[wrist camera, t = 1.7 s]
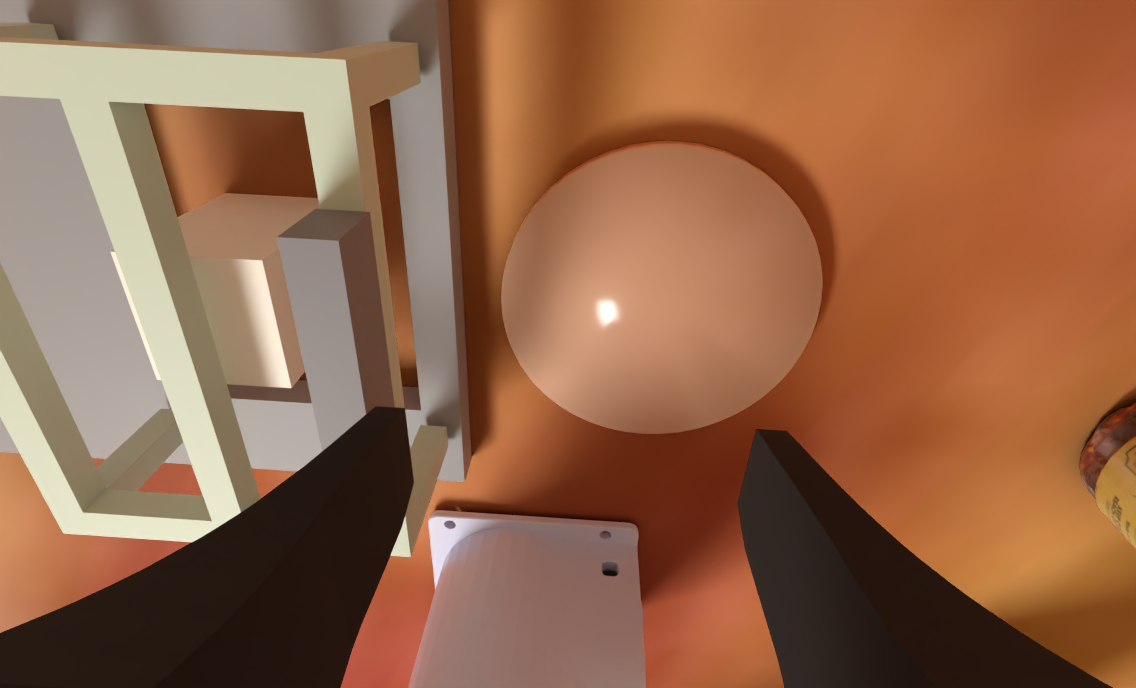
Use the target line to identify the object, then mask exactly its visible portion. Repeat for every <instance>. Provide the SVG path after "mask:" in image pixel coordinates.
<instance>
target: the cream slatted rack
mask: <svg viewBox="0 0 1136 688" xmlns="http://www.w3.org/2000/svg"><path fill="white" fill-rule="evenodd" d="M420 83H421V79H420V66H419V53H418V43H411V42H391V41H378V42H373V43H367V44H362V45H357V46H351V47H346V48H340V49H335V50H329V51H324V52H319V53H304V52H285V51H265V50H246V49H226V48H207V47H188V46H168V45H149V44H129V43H110V42H90V41H71V40H58V37H57V34H56V31H55V28H54V26H53V24H38V23H18V22H15V23H0V96H14V97H33V98H51V99H60V101H61V104H62V106H63V109H64V112H65V115H66V118H67V120H68V123H69V126H70V129H71V131H72V134H73V137H74V140H75V142H76V145H77V148H78V151H79V154H80V156H81V159H82V162H83V165H84V167H85V170H86V173H87V176H88V179H89V181H90V184H91V187H92V190H93V192H94V195H95V198H96V201H97V203H98V206H99V209H100V212H101V215H102V217H103V220H104V223H105V226H106V228H107V231H108V234H109V237H110V240H111V242H112V245H113V248H114V251H115V253H116V256H117V259H118V262H119V264H120V267H121V270H122V273H123V276H124V278H125V281H126V284H127V287H128V289H129V292H130V295H131V298H132V301H133V303H134V306H135V309H136V312H137V314H138V317H139V320H140V323H141V326H142V328H143V331H144V334H145V337H146V339H147V342H148V345H149V348H150V350H151V353H152V356H153V359H154V362H155V364H156V367H157V370H158V373H159V375H160V378H161V381H162V384H163V387H164V389H165V392H166V395H167V398H168V400H169V403H170V406H171V409H160V410H158V411H157V412H156V413H155V414H154V415H153V416H152V417H151V418H150V419H149V420H148V421H147V422H146V423H144V424H143V425H142V426H141V427H140V428H139V429H138V430H137V431H136V432H135V433H134V434H133V435H132V436H130V437H129V438H128V439H127V440H126V441H125V442H124V443H123V444H122V445H121V446H120V447H119V448H118V449H116V450H115V451H114V452H113V453H112V454H111V455H110V456H109V457H108V458H107V459H106V460H105V461H104V462H102V463H101V464H100V465H99V466H98V467H97V468H96V466H95V464H94V462H93V459H92V457H91V455H90V453H89V451H88V449H87V447H86V444H85V442H84V440H83V438H82V436H81V434H80V432H79V429H78V427H77V425H76V423H75V421H74V419H73V417H72V414H71V412H70V410H69V408H68V406H67V404H66V402H65V400H64V397H63V395H62V393H61V391H60V389H59V387H58V385H57V382H56V380H55V378H54V376H53V374H52V372H51V370H50V367H49V365H48V363H47V361H46V359H45V357H44V355H43V352H42V350H41V348H40V346H39V344H38V342H37V340H36V337H35V335H34V333H33V331H32V329H31V327H30V325H29V323H28V320H27V318H26V316H25V314H24V312H23V310H22V308H21V305H20V303H19V301H18V299H17V297H16V295H15V293H14V290H13V288H12V286H11V284H10V282H9V280H8V278H7V275H6V273H5V271H4V269H3V267H2V265H1V263H0V418H1V420H2V421H3V423H4V425H5V427H6V429H7V431H8V433H9V434H10V436H11V438H12V440H13V442H14V444H15V445H16V447H17V449H18V451H19V453H20V455H21V456H22V458H23V460H24V462H25V464H26V466H27V467H28V469H29V471H30V473H31V475H32V477H33V478H34V480H35V482H36V484H37V486H38V488H39V489H40V491H41V493H42V495H43V497H44V499H45V501H46V502H47V504H48V506H49V508H50V510H51V512H52V513H53V515H54V517H55V519H56V521H57V523H58V524H59V526H60V528H61V530H62V532H63V533H65V534H79V535H94V536H109V537H124V538H138V539H153V540H168V541H183V542H194V541H196V540H197V539H199V538H201V537H203V536H204V535H206V534H208V533H209V532H211V531H212V530H214V529H216V528H217V527H219V526H220V525H222V524H224V523H225V522H227V521H228V520H230V519H231V518H233V517H235V516H236V515H238V514H239V513H241V512H242V511H244V510H245V509H247V508H248V507H250V506H251V505H253V504H254V503H256V502H257V501H258V500H260V495H259V492H258V488H257V485H256V482H255V478H254V475H253V472H252V468H251V465H250V461H249V458H248V455H247V451H246V448H245V444H244V441H243V438H242V434H241V431H240V428H239V424H238V421H237V417H236V414H235V411H234V407H233V404H232V400H231V397H230V394H229V390H228V387H227V384H226V380H225V377H224V373H223V370H222V367H221V363H220V360H219V356H218V353H217V350H216V346H215V343H214V340H213V336H212V333H211V329H210V326H209V323H208V319H207V316H206V312H205V309H204V306H203V302H202V299H201V296H200V292H199V289H198V285H197V282H196V279H195V275H194V272H193V268H192V265H191V262H190V258H189V255H188V252H187V248H186V245H185V241H184V238H183V235H182V231H181V228H180V225H179V221H178V218H177V214H176V211H175V208H174V204H173V201H172V197H171V194H170V191H169V187H168V184H167V181H166V177H165V174H164V170H163V167H162V164H161V160H160V157H159V153H158V150H157V147H156V143H155V140H154V137H153V133H152V130H151V126H150V123H149V120H148V116H147V113H146V109H145V106H144V103H145V104H164V105H182V106H201V107H220V108H238V109H257V110H276V111H295V112H303V113H304V118H305V124H306V130H307V136H308V142H309V148H310V154H311V159H312V165H313V171H314V177H315V183H316V189H317V195H318V201H319V206H320V209H314V210H313V211H312V212H310V213H309V214H308V215H306V216H305V217H304V218H302V219H301V220H299V221H298V222H297V223H295V224H294V225H293V226H291V227H290V228H288V229H287V230H286V231H284V232H283V233H282V234H280V235H279V236H278V237H277V241H278V246H279V251H280V256H281V260H282V265H283V270H284V274H285V279H286V284H287V288H288V293H289V298H290V302H291V307H292V312H293V317H294V321H295V326H296V331H297V335H298V340H299V345H300V349H301V354H302V359H303V364H304V368H305V373H306V378H307V382H308V387H309V392H310V396H311V401H312V406H313V410H314V415H315V420H316V425H317V429H318V434H319V439H320V443H321V448H322V451H323V450H325V449H326V448H327V447H328V446H329V445H331V444H332V443H333V442H334V441H335V440H336V439H338V438H339V437H340V436H341V435H342V434H343V433H345V432H346V431H347V430H348V429H349V428H350V427H352V426H353V425H354V424H355V423H356V422H358V421H359V420H360V419H361V418H362V417H363V416H365V415H366V414H367V413H368V412H369V411H371V410H372V409H373V408H374V407H376V406H381V407H397V408H405V406H404V398H403V389H402V381H401V372H400V364H399V355H398V347H397V338H396V330H395V321H394V313H393V304H392V296H391V287H390V279H389V270H388V262H387V253H386V245H385V236H384V228H383V219H382V211H381V202H380V194H379V185H378V177H377V168H376V160H375V151H374V142H373V134H372V125H371V117H370V108H369V107H370V106H372V105H375V104H377V103H379V102H381V101H383V100H385V99H388V98H390V97H392V96H394V95H396V94H398V93H401V92H403V91H405V90H407V89H409V88H411V87H414V86H416V85H418V84H420ZM183 442H184V445H185V448H186V450H187V453H188V456H189V459H190V461H191V464H192V467H193V470H194V472H195V475H196V478H197V481H198V484H199V486H200V489H201V492H202V495H203V496H200V495H185V494H170V493H155V492H140V491H137V490H138V489H139V488H140V487H141V486H142V485H143V484H144V483H145V482H146V481H147V480H148V479H149V477H150V476H151V475H152V474H153V473H154V472H155V471H156V470H157V469H158V468H159V467H160V466H161V465H162V464H163V463H164V462H165V461H166V459H167V458H168V457H169V456H170V455H171V454H172V453H173V452H174V451H175V450H176V449H177V448H178V447H179V446H180V445H181V444H182V443H183ZM447 449H448V438H447V427H444V426H428V425H420V427H419V430H418V432H417V434H416V437H415V439H414V441H413V444H412V446H411V448H410V453H411V461H412V469H413V478H414V485H413V489H412V492H411V496H410V500H409V504H408V508H407V511H406V515H405V518H404V522H403V525H402V528H401V531H400V533H399V536H398V538H397V541H396V543H395V545H394V548H393V550H392V553H391V555H390V556H403V557H411V555H412V552H413V549H414V546H415V543H416V540H417V537H418V534H419V531H420V529H421V526H422V523H423V520H424V517H425V514H426V511H427V508H428V505H429V502H430V499H431V496H432V493H433V490H434V487H435V484H436V482H437V479H438V476H439V473H440V470H441V467H442V464H443V461H444V458H445V455H446V452H447Z"/></svg>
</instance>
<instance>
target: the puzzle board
mask: <svg viewBox="0 0 1136 688" xmlns="http://www.w3.org/2000/svg"><path fill="white" fill-rule="evenodd" d="M15 22H18V23H38V24H53V26H54V28H55V31H56V34H57V37H58V40H71V41H90V42H110V43H129V44H149V45H168V46H188V47H207V48H226V49H246V50H265V51H285V52H304V53H319V52H324V51H329V50H335V49H340V48H346V47H351V46H357V45H362V44H367V43H373V42H378V41H391V42H411V43H418V53H419V66H420V79H421V83H420V84H418V85H416V86H414V87H411V88H409V89H407V90H405V91H403V92H401V93H398V94H396V95H394V96H392V97H390V98H388V99H390V107H391V117H392V127H393V137H394V147H395V156H396V166H397V176H398V186H399V196H400V206H401V216H402V226H403V236H404V246H405V256H406V266H407V276H408V286H409V295H410V305H411V315H412V325H413V335H414V345H415V355H416V365H417V375H418V385H419V387H405V386H402V389H403V398H404V406H405V412H406V420H407V428H408V437H409V445H410V448H411V446H412V444H413V441H414V439H415V437H416V434H417V432H418V430H419V427H420V425H428V426H444V427H447V438H448V449H447V452H446V455H445V458H444V461H443V464H442V467H441V470H440V473H439V476H438V479H437V480H439V481H455V482H465V479H466V475H467V472H468V468H469V465H470V461H471V458H472V457H471V437H470V418H469V398H468V378H467V358H466V338H465V319H464V299H463V279H462V259H461V239H460V220H459V200H458V180H457V160H456V140H455V121H454V101H453V81H452V61H451V41H450V22H449V2H448V0H0V23H15ZM113 250H114V248H113V245H112V242H111V240H110V237H109V234H108V231H107V228H106V226H105V223H104V220H103V217H102V215H101V212H100V209H99V206H98V203H97V201H96V198H95V195H94V192H93V190H92V187H91V184H90V181H89V179H88V176H87V173H86V170H85V167H84V165H83V162H82V159H81V156H80V154H79V151H78V148H77V145H76V142H75V140H74V137H73V134H72V131H71V129H70V126H69V123H68V120H67V118H66V115H65V112H64V109H63V106H62V104H61V101H60V99H51V98H33V97H14V96H0V263H1V265H2V267H3V269H4V271H5V273H6V275H7V278H8V280H9V282H10V284H11V286H12V288H13V290H14V293H15V295H16V297H17V299H18V301H19V303H20V305H21V308H22V310H23V312H24V314H25V316H26V318H27V320H28V323H29V325H30V327H31V329H32V331H33V333H34V335H35V337H36V340H37V342H38V344H39V346H40V348H41V350H42V352H43V355H44V357H45V359H46V361H47V363H48V365H49V367H50V370H51V372H52V374H53V376H54V378H55V380H56V382H57V385H58V387H59V389H60V391H61V393H62V395H63V397H64V400H65V402H66V404H67V406H68V408H69V410H70V412H71V414H72V417H73V419H74V421H75V423H76V425H77V427H78V429H79V432H80V434H81V436H82V438H83V440H84V442H85V444H86V447H87V449H88V451H89V453H90V455H91V457H92V458H103V459H107V458H108V457H109V456H110V455H111V454H112V453H113V452H114V451H115V450H116V449H118V448H119V447H120V446H121V445H122V444H123V443H124V442H125V441H126V440H127V439H128V438H129V437H130V436H132V435H133V434H134V433H135V432H136V431H137V430H138V429H139V428H140V427H141V426H142V425H143V424H144V423H146V422H147V421H148V420H149V419H150V418H151V417H152V416H153V415H154V414H155V413H156V412H157V411H158V410H160V409H171V406H170V403H169V400H168V398H167V395H166V392H165V389H164V387H163V384H162V381H161V380H157V379H156V376H155V373H154V370H153V368H152V365H151V362H150V359H149V357H148V354H147V351H146V348H145V346H144V343H143V340H142V337H141V335H140V332H139V329H138V326H137V324H136V321H135V318H134V315H133V313H132V310H131V307H130V304H129V302H128V299H127V296H126V293H125V291H124V288H123V285H122V282H121V280H120V277H119V274H118V271H117V269H116V266H115V263H114V260H113V258H112V255H111V251H113ZM227 387H228V390H229V394H230V397H231V400H232V404H233V407H234V411H235V414H236V417H237V421H238V424H239V428H240V431H241V434H242V438H243V441H244V444H245V448H246V451H247V455H248V458H249V461H250V465H251V468H256V469H271V470H286V471H299V470H300V469H301V468H303V467H304V466H305V465H306V464H307V463H309V462H310V461H311V460H312V459H314V458H315V457H316V456H317V455H318V454H320V453H321V452H322V448H321V443H320V439H319V434H318V429H317V425H316V420H315V415H314V410H313V406H312V401H311V396H310V392H309V387H308V382H307V380H298V381H297V382H296V383H295V385H294V386H293V387H292V388H279V387H263V386H247V385H231V384H227ZM0 452H11V453H19V451H18V449H17V447H16V445H15V444H14V442H13V440H12V438H11V436H10V434H9V433H8V431H7V429H6V427H5V425H4V423H3V421H2V420H1V418H0ZM164 463H179V464H191V461H190V459H189V456H188V453H187V450H186V448H185V445H184V442H183V443H182V444H181V445H180V446H179V447H178V448H177V449H176V450H175V451H174V452H173V453H172V454H171V455H170V456H169V457H168V458H167V459H166V461H165V462H164Z"/></svg>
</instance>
